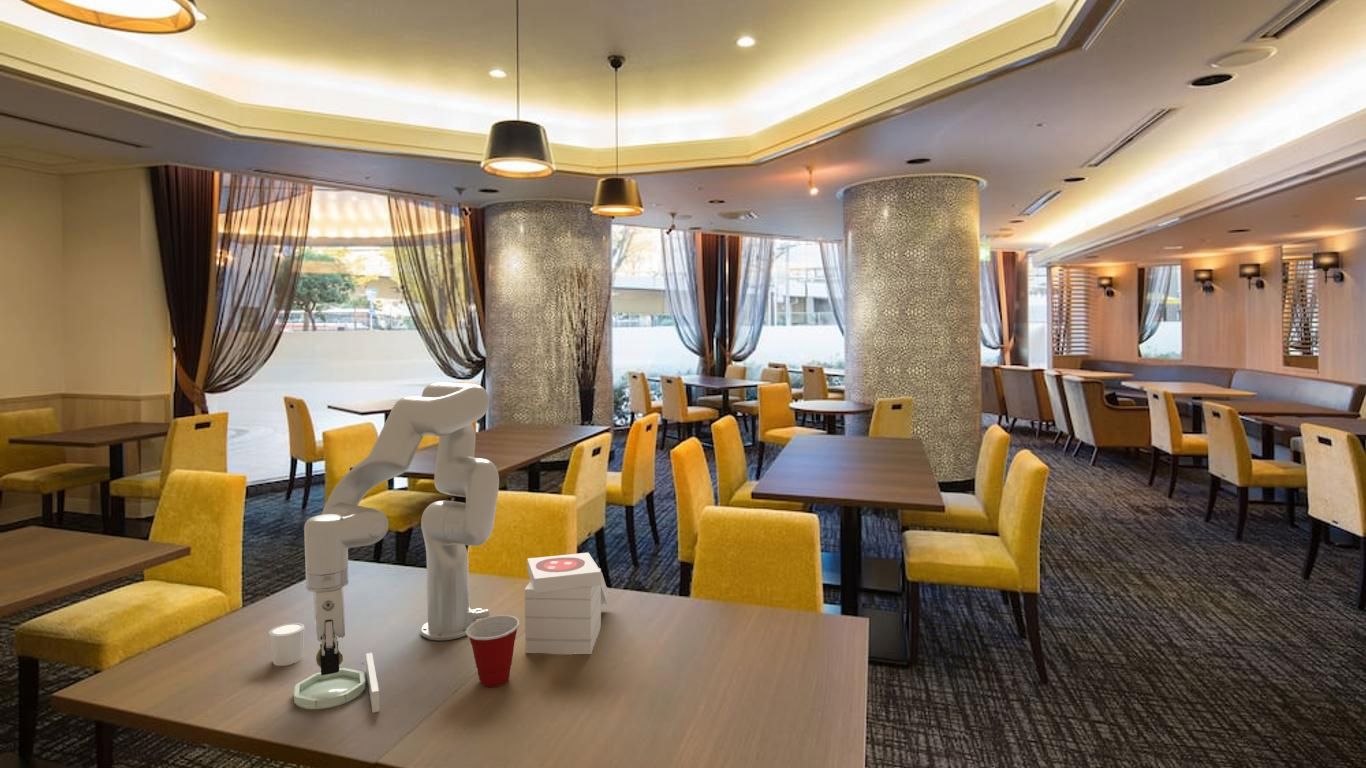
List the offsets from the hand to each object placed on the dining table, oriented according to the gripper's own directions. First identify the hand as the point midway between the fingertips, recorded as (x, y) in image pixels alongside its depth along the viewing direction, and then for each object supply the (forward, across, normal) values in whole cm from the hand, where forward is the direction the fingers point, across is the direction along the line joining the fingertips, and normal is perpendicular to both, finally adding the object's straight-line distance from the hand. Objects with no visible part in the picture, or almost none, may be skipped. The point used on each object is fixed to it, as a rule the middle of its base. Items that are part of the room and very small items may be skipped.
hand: (329, 666), depth 139 cm
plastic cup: (+5, -10, -30) cm, 32 cm away
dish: (+5, 0, 0) cm, 5 cm away
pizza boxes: (+6, +7, -52) cm, 52 cm away
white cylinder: (+6, +20, +8) cm, 22 cm away
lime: (+1, 0, 0) cm, 1 cm away
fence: (+5, -3, -8) cm, 10 cm away
